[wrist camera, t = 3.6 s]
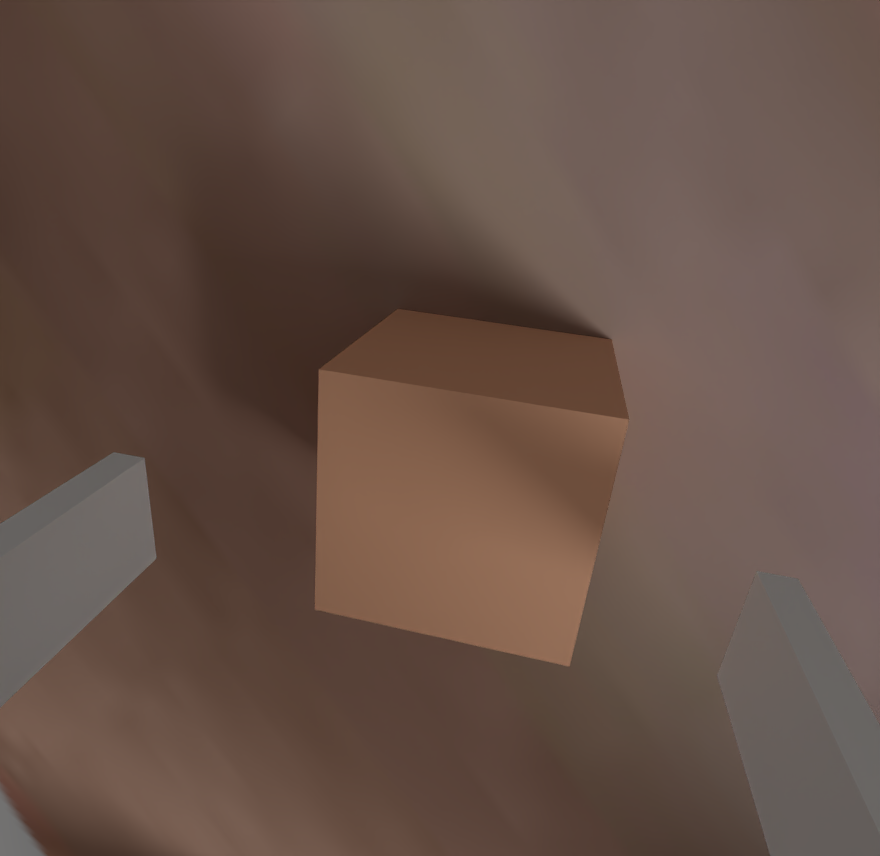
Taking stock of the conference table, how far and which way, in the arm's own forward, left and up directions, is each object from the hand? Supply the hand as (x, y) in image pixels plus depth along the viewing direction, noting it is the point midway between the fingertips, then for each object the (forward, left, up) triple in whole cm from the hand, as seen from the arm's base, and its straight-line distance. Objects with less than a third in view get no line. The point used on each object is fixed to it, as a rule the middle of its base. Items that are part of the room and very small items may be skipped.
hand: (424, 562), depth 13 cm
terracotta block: (0, 0, -9) cm, 9 cm away
